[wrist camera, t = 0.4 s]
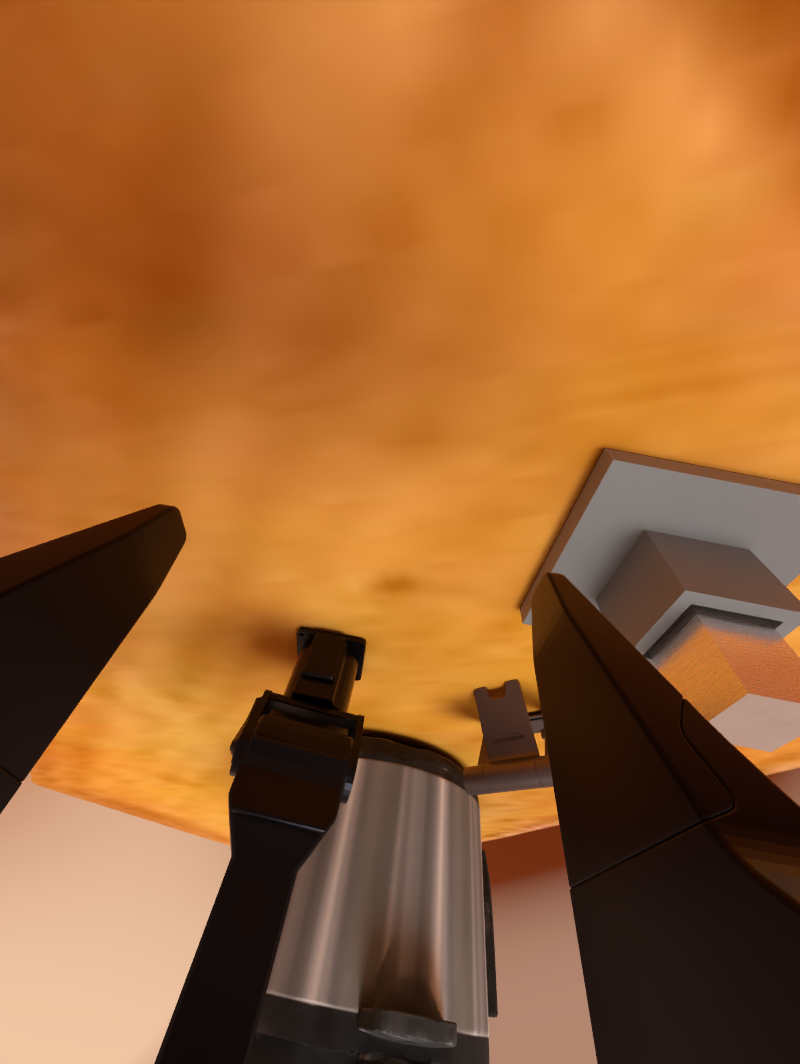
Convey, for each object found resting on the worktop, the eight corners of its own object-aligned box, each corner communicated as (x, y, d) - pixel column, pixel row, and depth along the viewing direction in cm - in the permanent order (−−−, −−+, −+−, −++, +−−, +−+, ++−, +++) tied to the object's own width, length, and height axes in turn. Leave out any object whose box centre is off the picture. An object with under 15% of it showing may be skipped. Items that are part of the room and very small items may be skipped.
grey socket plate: (693, 642, 29) (743, 724, 24) (520, 608, 30) (533, 683, 24) (850, 494, 21) (977, 574, 16) (604, 447, 21) (651, 511, 16)
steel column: (679, 604, 25) (771, 752, 18) (619, 593, 25) (686, 736, 18) (719, 560, 23) (846, 711, 15) (653, 547, 23) (748, 692, 15)
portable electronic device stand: (490, 728, 42) (497, 817, 35) (454, 693, 38) (454, 785, 32) (569, 713, 38) (592, 810, 31) (536, 672, 35) (555, 772, 28)
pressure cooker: (359, 814, 66) (298, 1161, 41) (243, 742, 53) (50, 1186, 28) (524, 803, 54) (581, 1290, 29) (426, 705, 41) (374, 1441, 16)
